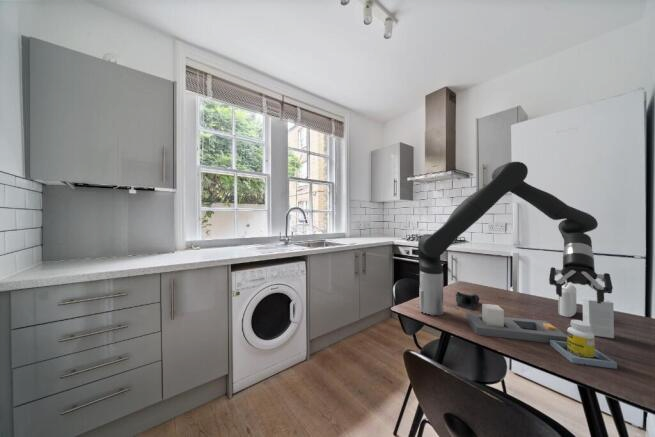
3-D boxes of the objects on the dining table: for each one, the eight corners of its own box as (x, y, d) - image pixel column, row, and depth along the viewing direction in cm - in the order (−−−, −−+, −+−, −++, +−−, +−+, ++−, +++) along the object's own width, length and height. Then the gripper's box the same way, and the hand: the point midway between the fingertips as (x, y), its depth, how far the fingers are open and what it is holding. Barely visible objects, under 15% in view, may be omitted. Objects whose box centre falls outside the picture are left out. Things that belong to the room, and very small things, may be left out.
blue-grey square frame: (572, 362, 65) (572, 357, 65) (549, 344, 74) (549, 339, 74) (617, 368, 62) (617, 363, 62) (588, 349, 71) (588, 344, 71)
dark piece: (473, 314, 101) (482, 308, 109) (477, 297, 100) (485, 292, 108) (452, 304, 107) (461, 299, 115) (455, 288, 106) (464, 284, 114)
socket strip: (476, 334, 81) (476, 311, 81) (466, 319, 92) (466, 299, 92) (569, 345, 73) (569, 320, 73) (546, 327, 85) (546, 305, 85)
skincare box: (605, 333, 81) (605, 298, 81) (614, 338, 77) (614, 302, 77) (581, 329, 83) (581, 296, 83) (589, 335, 79) (589, 300, 79)
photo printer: (563, 309, 101) (563, 281, 101) (577, 312, 98) (577, 283, 98) (556, 314, 96) (556, 285, 96) (571, 318, 92) (571, 287, 92)
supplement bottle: (562, 351, 70) (562, 318, 70) (578, 349, 71) (578, 318, 71) (583, 362, 65) (583, 327, 65) (600, 360, 65) (600, 326, 65)
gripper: (549, 250, 86) (548, 287, 78) (610, 254, 76) (615, 298, 68) (550, 262, 90) (549, 299, 82) (608, 267, 80) (612, 310, 72)
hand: (579, 298), depth 75 cm, fingers open, 8 cm apart
